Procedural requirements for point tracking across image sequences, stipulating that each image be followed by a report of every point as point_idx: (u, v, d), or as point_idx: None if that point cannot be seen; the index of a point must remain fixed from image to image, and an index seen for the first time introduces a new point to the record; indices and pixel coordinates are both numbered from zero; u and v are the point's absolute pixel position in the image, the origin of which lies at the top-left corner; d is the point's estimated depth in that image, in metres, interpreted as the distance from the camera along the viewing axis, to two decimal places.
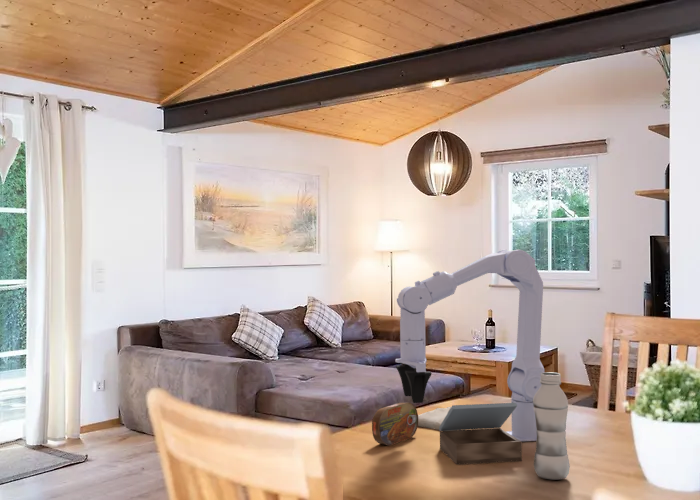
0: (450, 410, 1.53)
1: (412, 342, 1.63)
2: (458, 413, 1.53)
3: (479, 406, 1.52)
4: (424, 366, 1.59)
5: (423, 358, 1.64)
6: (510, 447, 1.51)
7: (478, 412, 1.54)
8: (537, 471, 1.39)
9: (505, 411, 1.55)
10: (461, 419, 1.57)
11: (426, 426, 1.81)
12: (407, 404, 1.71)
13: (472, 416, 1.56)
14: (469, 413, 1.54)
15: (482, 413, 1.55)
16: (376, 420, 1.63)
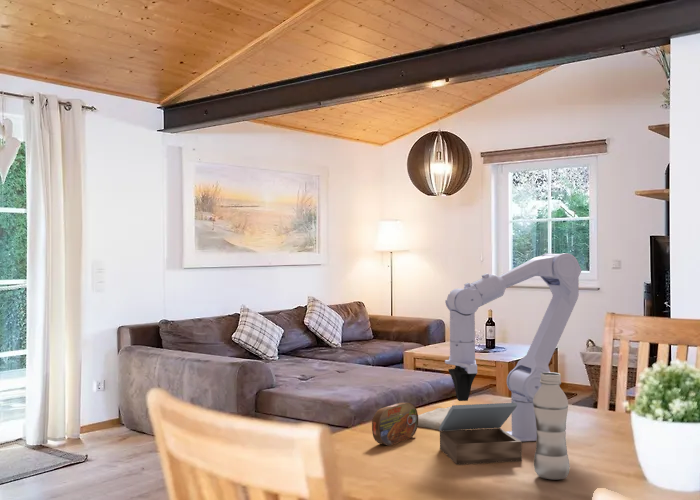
0: (450, 410, 1.53)
1: (462, 344, 1.64)
2: (458, 413, 1.53)
3: (479, 406, 1.52)
4: (476, 368, 1.60)
5: (473, 360, 1.65)
6: (510, 447, 1.51)
7: (478, 412, 1.54)
8: (537, 471, 1.39)
9: (505, 411, 1.55)
10: (461, 419, 1.57)
11: (426, 426, 1.81)
12: (407, 404, 1.71)
13: (472, 416, 1.56)
14: (469, 413, 1.54)
15: (482, 413, 1.55)
16: (376, 420, 1.63)
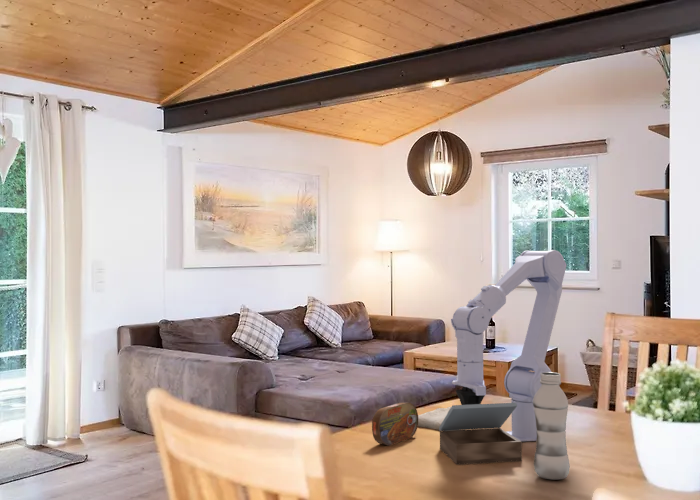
0: (450, 410, 1.53)
1: (470, 364, 1.59)
2: (458, 413, 1.53)
3: (479, 406, 1.52)
4: (484, 389, 1.54)
5: (481, 380, 1.60)
6: (510, 447, 1.51)
7: (478, 412, 1.54)
8: (537, 471, 1.39)
9: (505, 411, 1.55)
10: (461, 419, 1.57)
11: (426, 426, 1.81)
12: (407, 404, 1.71)
13: (472, 416, 1.56)
14: (469, 413, 1.54)
15: (482, 413, 1.55)
16: (376, 420, 1.63)
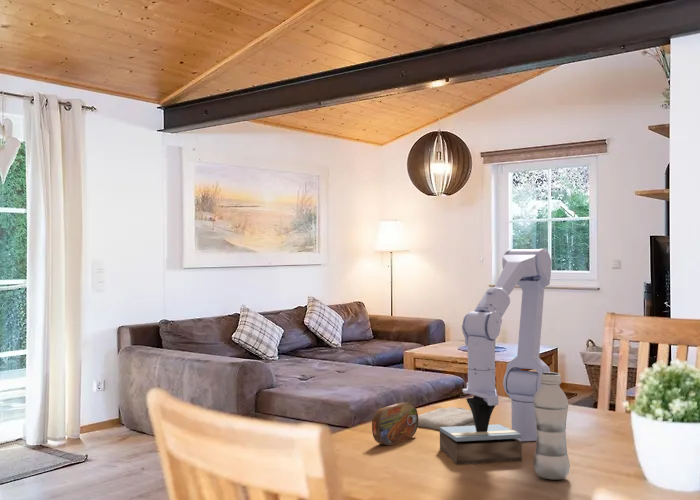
0: (453, 437, 1.51)
1: (482, 372, 1.51)
2: None
3: (483, 438, 1.50)
4: (497, 399, 1.47)
5: (493, 389, 1.52)
6: (510, 447, 1.51)
7: None
8: (537, 471, 1.39)
9: None
10: None
11: (427, 426, 1.81)
12: (407, 404, 1.71)
13: None
14: None
15: None
16: (376, 420, 1.63)
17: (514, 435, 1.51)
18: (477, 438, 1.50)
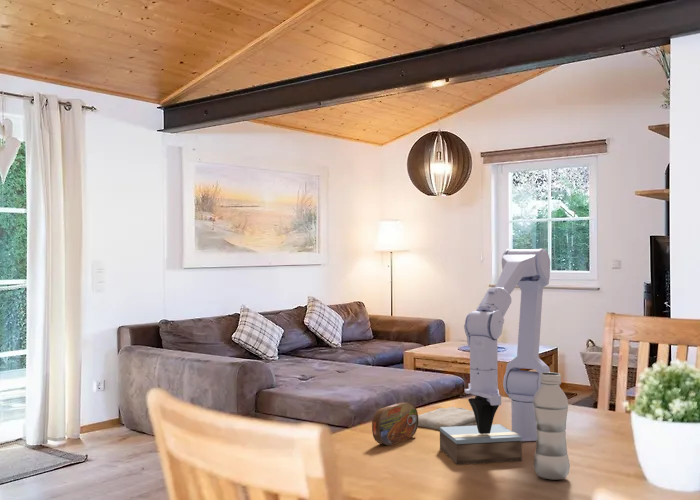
0: (453, 439, 1.51)
1: (484, 372, 1.50)
2: None
3: (483, 441, 1.50)
4: (499, 399, 1.46)
5: (496, 389, 1.51)
6: (510, 447, 1.51)
7: None
8: (537, 471, 1.39)
9: None
10: None
11: (427, 426, 1.81)
12: (407, 404, 1.71)
13: None
14: None
15: None
16: (376, 420, 1.63)
17: (514, 438, 1.51)
18: (477, 441, 1.50)
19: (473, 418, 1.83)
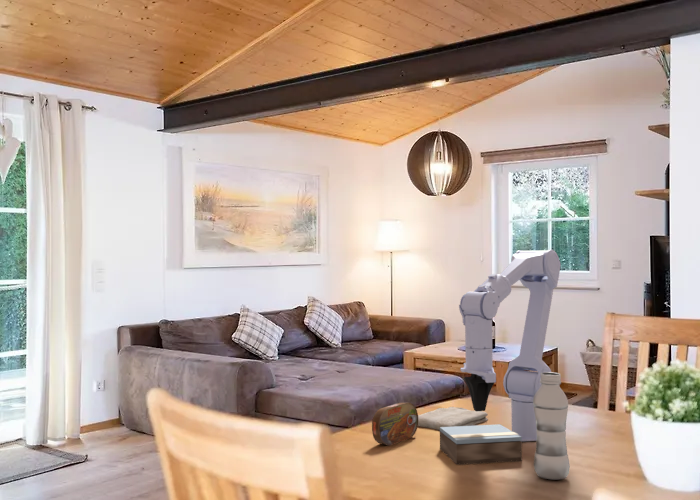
0: (453, 439, 1.51)
1: (479, 350, 1.54)
2: None
3: (483, 441, 1.50)
4: (494, 376, 1.50)
5: (490, 367, 1.55)
6: (510, 447, 1.51)
7: None
8: (537, 471, 1.39)
9: None
10: None
11: (427, 426, 1.81)
12: (407, 404, 1.71)
13: None
14: None
15: None
16: (376, 420, 1.63)
17: (514, 438, 1.51)
18: (477, 441, 1.50)
19: (473, 418, 1.83)
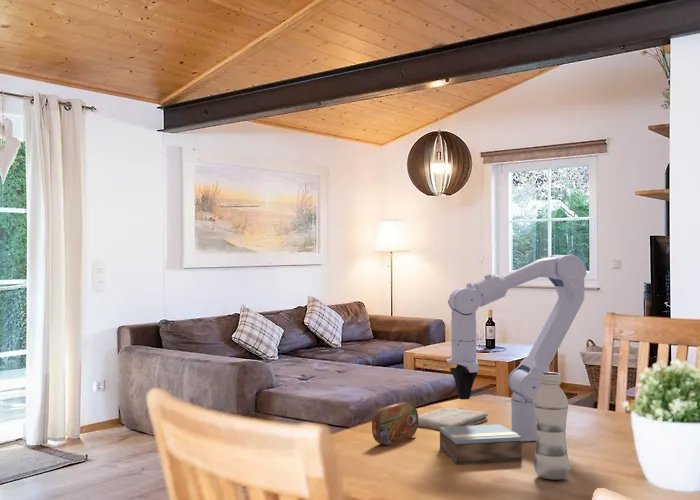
0: (453, 439, 1.51)
1: (464, 343, 1.66)
2: None
3: (483, 441, 1.50)
4: (477, 366, 1.62)
5: (474, 358, 1.67)
6: (510, 447, 1.51)
7: None
8: (537, 471, 1.39)
9: None
10: None
11: (427, 426, 1.81)
12: (407, 404, 1.71)
13: None
14: None
15: None
16: (376, 420, 1.63)
17: (514, 438, 1.51)
18: (477, 441, 1.50)
19: (473, 418, 1.83)
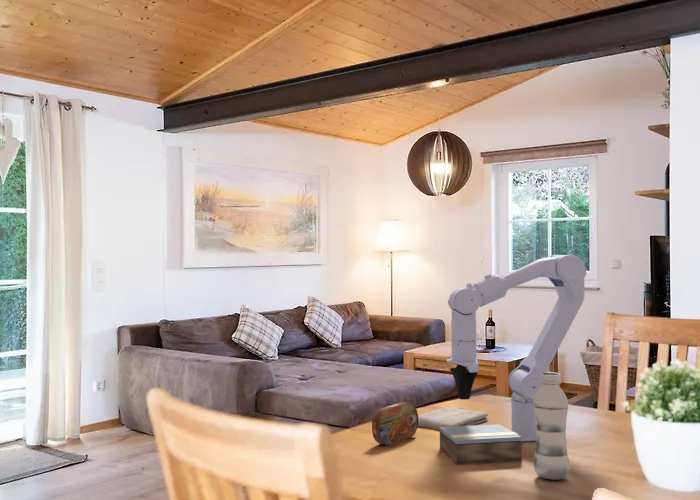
0: (453, 439, 1.51)
1: (464, 343, 1.66)
2: None
3: (483, 441, 1.50)
4: (477, 366, 1.62)
5: (474, 358, 1.67)
6: (510, 447, 1.51)
7: None
8: (537, 471, 1.39)
9: None
10: None
11: (427, 426, 1.81)
12: (407, 404, 1.71)
13: None
14: None
15: None
16: (376, 420, 1.63)
17: (514, 438, 1.51)
18: (477, 441, 1.50)
19: (474, 418, 1.83)
